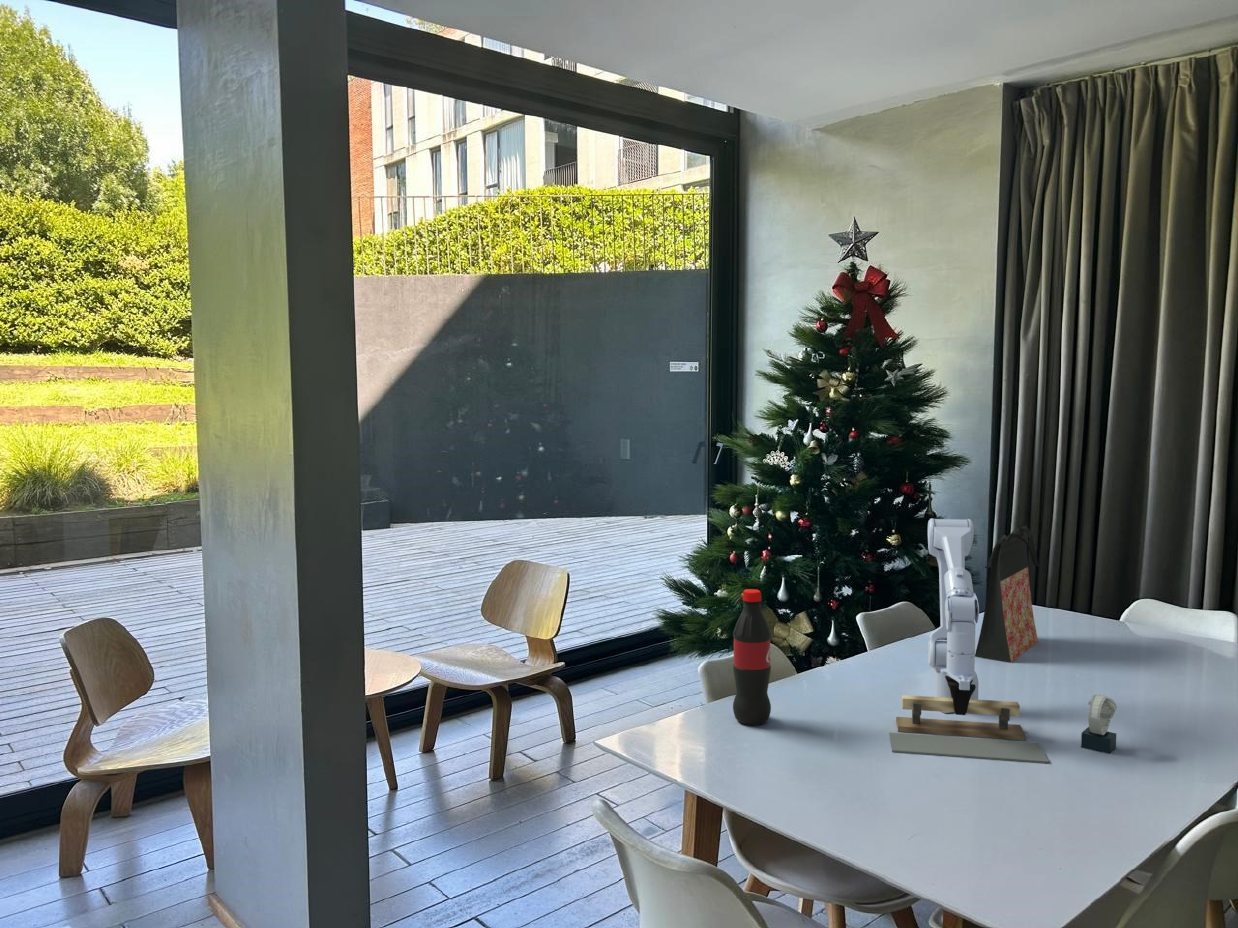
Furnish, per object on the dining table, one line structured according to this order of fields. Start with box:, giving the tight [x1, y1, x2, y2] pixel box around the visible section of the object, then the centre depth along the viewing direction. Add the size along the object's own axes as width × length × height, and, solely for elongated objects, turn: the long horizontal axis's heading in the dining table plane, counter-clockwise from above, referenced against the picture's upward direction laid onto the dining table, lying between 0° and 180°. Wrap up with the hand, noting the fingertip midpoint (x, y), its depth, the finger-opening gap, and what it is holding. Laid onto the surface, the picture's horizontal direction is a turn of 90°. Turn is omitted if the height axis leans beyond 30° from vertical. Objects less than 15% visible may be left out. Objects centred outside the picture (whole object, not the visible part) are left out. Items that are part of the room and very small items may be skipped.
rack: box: [895, 703, 1027, 741], centre depth 205 cm, size 26×6×6 cm, turn 77°
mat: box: [888, 732, 1050, 764], centre depth 196 cm, size 30×10×1 cm, turn 77°
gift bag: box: [975, 525, 1040, 664], centre depth 267 cm, size 29×14×35 cm, turn 141°
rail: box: [901, 694, 1021, 717], centre depth 205 cm, size 24×2×2 cm, turn 77°
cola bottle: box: [732, 588, 772, 726], centre depth 212 cm, size 8×8×30 cm
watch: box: [1080, 694, 1118, 755], centre depth 195 cm, size 6×8×11 cm
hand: (959, 711), depth 205 cm, fingers closed on rail, 2 cm apart
